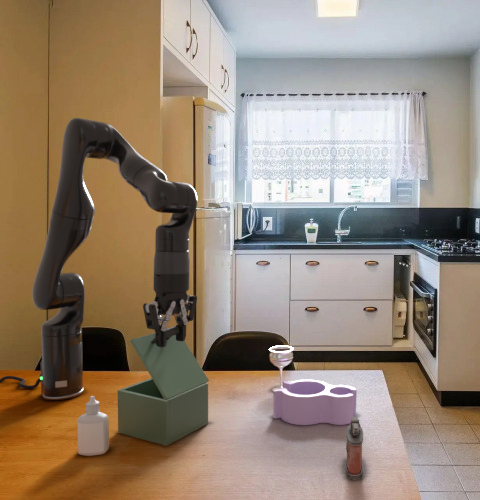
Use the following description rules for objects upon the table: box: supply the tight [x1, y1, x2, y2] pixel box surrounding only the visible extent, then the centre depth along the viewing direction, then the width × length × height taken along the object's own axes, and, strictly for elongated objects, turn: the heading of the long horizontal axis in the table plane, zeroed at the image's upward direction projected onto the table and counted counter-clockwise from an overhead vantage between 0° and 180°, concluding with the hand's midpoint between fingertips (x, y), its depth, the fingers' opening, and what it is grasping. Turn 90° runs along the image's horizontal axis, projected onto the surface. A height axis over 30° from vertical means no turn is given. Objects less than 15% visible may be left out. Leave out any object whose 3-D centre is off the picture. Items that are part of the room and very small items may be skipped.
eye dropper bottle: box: [76, 395, 110, 457], centre depth 102 cm, size 4×6×12 cm
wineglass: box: [268, 345, 294, 392], centre depth 141 cm, size 7×7×12 cm
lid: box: [129, 325, 210, 400], centre depth 112 cm, size 16×13×5 cm
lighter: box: [345, 416, 364, 481], centre depth 98 cm, size 8×3×10 cm, turn 5°
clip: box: [272, 379, 357, 426], centre depth 124 cm, size 20×12×7 cm, turn 81°
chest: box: [117, 377, 209, 447], centre depth 114 cm, size 15×13×10 cm
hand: (170, 343), depth 112 cm, fingers closed on lid, 5 cm apart
